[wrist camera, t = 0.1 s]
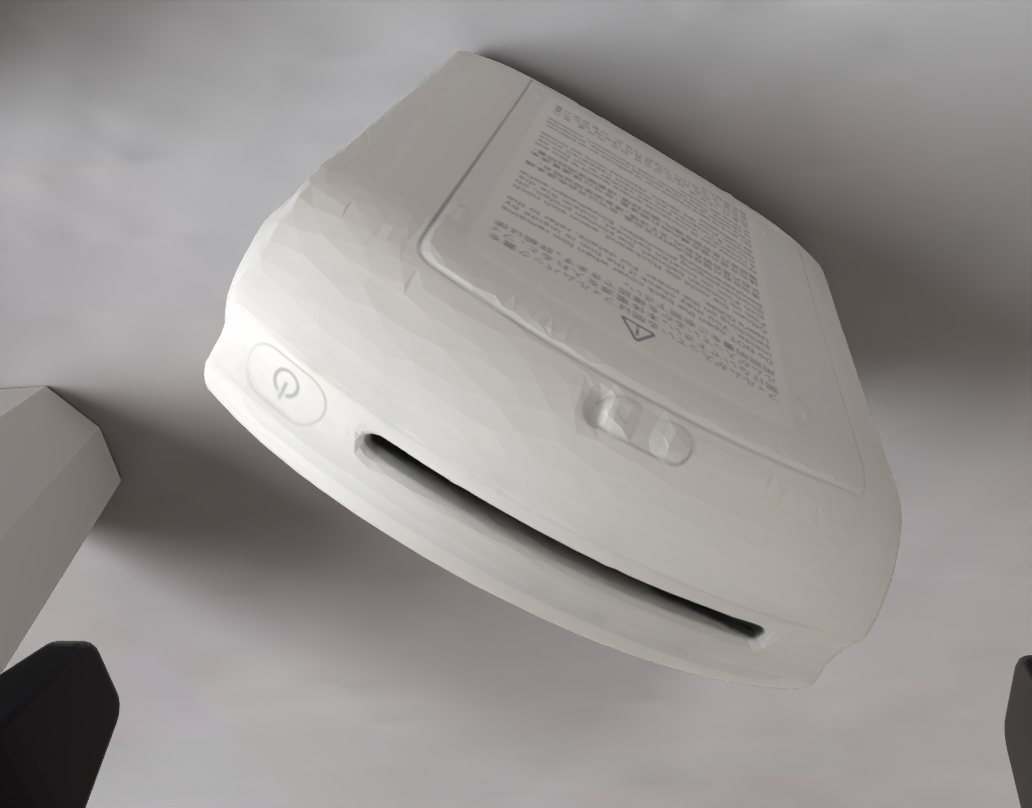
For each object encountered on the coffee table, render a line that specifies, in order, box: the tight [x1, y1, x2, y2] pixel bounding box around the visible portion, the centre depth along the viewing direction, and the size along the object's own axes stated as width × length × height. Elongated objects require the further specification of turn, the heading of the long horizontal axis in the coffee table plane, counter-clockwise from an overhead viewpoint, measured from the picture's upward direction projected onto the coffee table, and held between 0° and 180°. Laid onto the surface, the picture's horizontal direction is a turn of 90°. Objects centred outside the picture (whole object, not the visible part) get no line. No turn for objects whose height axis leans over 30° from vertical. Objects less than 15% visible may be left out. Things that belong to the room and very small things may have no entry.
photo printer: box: [204, 51, 902, 689], centre depth 17 cm, size 10×4×12 cm, turn 62°
